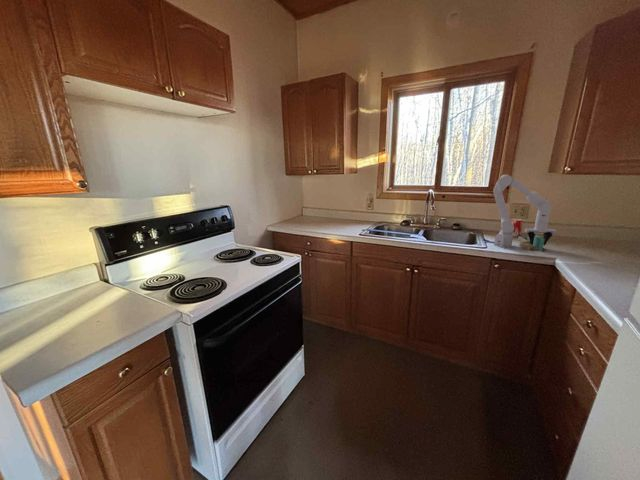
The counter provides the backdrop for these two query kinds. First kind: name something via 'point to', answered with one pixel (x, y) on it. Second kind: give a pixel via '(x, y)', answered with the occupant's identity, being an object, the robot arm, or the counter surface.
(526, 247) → the offcut
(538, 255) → the counter surface
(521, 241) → the offcut
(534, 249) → the rack
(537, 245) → the board
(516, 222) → the soda can
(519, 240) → the stand
